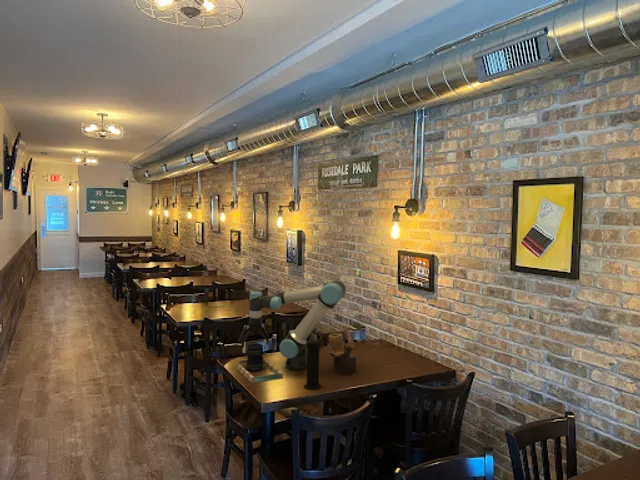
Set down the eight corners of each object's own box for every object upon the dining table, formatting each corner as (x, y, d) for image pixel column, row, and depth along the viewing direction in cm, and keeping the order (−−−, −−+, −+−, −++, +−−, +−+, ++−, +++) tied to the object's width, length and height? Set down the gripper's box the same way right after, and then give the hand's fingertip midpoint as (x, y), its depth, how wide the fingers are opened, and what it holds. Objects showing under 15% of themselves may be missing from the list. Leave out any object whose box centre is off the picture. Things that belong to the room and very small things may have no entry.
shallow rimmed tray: (236, 368, 293) (236, 360, 293) (265, 364, 302) (265, 356, 302) (252, 383, 268) (252, 374, 267) (283, 378, 276) (283, 370, 276)
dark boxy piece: (331, 370, 292) (332, 341, 291) (345, 367, 298) (346, 339, 297) (347, 377, 279) (348, 347, 278) (362, 374, 286) (362, 345, 285)
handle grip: (320, 383, 269) (303, 383, 268) (321, 337, 268) (303, 337, 267) (322, 390, 259) (304, 390, 258) (323, 342, 258) (304, 342, 257)
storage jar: (260, 366, 297) (261, 343, 297) (264, 371, 288) (265, 347, 288) (245, 368, 294) (245, 344, 293) (248, 373, 285) (248, 348, 284)
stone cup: (325, 353, 327) (325, 332, 326) (339, 351, 333) (340, 330, 332) (336, 359, 314) (337, 337, 313) (351, 357, 320) (352, 335, 319)
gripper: (272, 314, 298) (271, 347, 300) (233, 317, 287) (233, 351, 288) (276, 316, 292) (275, 350, 293) (237, 319, 280) (236, 355, 281)
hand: (254, 351), depth 291 cm, fingers open, 13 cm apart
